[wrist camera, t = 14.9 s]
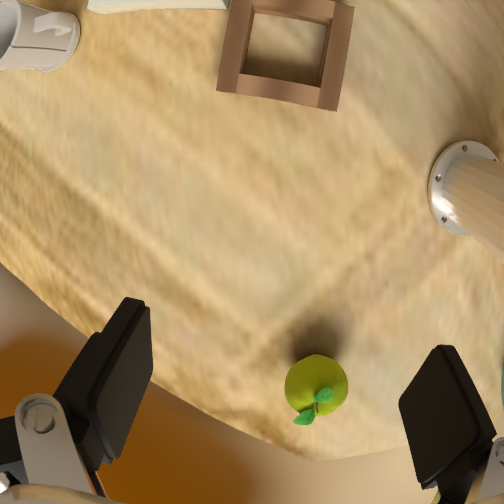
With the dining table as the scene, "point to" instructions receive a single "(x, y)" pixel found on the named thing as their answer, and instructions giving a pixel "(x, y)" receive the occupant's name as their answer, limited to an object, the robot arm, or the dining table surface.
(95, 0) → the tray
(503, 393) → the flower pot
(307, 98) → the pocket frame
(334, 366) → the fruit
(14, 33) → the cup
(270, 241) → the dining table surface
